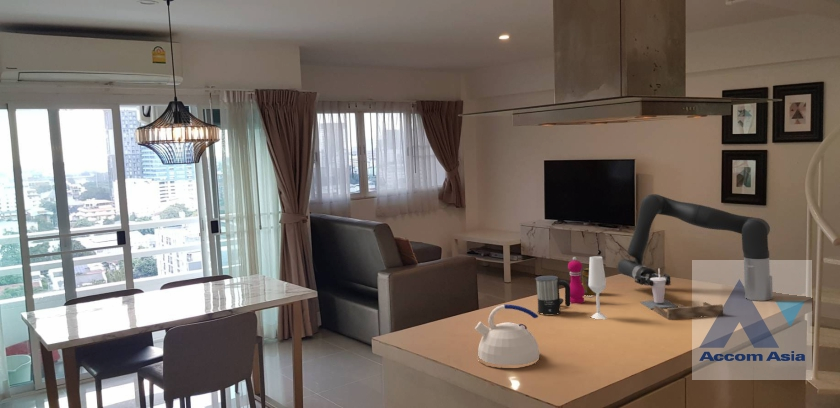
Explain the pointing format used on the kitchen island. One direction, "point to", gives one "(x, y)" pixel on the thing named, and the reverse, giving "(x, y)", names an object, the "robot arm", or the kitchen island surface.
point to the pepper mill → (576, 282)
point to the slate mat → (659, 304)
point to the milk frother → (551, 294)
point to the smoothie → (658, 288)
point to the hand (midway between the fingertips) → (660, 283)
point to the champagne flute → (597, 281)
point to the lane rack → (690, 311)
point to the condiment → (585, 283)
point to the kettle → (507, 341)
